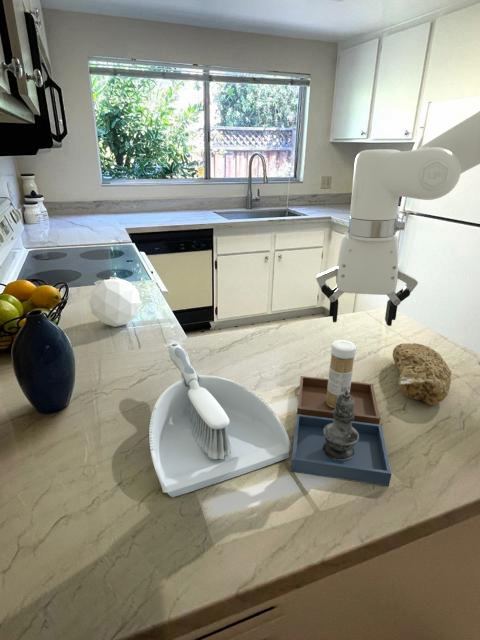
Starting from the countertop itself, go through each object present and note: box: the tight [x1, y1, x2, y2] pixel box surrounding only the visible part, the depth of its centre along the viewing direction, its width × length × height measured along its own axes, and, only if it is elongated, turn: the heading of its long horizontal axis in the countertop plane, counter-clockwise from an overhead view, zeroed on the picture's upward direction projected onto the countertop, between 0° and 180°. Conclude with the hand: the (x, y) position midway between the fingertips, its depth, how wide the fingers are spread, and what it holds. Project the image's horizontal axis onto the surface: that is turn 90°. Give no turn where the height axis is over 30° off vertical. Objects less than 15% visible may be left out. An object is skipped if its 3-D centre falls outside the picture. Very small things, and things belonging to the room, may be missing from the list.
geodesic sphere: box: [88, 275, 141, 328], centre depth 115 cm, size 15×14×14 cm
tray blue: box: [290, 413, 392, 487], centre depth 69 cm, size 15×12×2 cm
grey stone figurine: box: [323, 391, 359, 461], centre depth 67 cm, size 6×6×12 cm
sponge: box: [391, 342, 452, 406], centre depth 90 cm, size 13×8×20 cm
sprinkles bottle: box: [326, 339, 357, 409], centre depth 79 cm, size 5×5×13 cm
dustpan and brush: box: [148, 342, 292, 499], centre depth 75 cm, size 23×33×10 cm
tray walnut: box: [296, 375, 381, 425], centre depth 81 cm, size 15×12×2 cm
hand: (360, 321), depth 75 cm, fingers open, 9 cm apart
